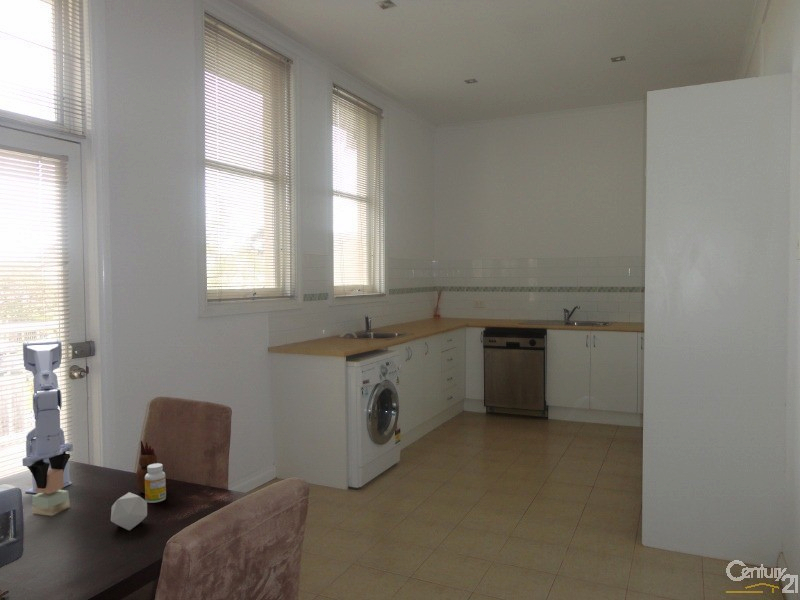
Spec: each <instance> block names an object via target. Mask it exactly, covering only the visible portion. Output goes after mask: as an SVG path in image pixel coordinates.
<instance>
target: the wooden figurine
mask: <svg viewBox="0 0 800 600" xmlns="http://www.w3.org/2000/svg"><path fill="white" fill-rule="evenodd" d="M138 459H139V460H138V461H139V462H138V463H139V467H138V469H137V470H136V473H135V476H136V477H135V483H136V486H137V490H138V491H139V492H141V493H142V494H145V475H146V474H147V473H148V472H147V466H148V465H151V464H156V463H158V457H157V454H156V453H155V449H154V447H151V445H149V444H148V442H147V441H146V442H145V446H144V443H143V440H140V456H139V458H138Z"/></svg>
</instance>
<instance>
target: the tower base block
mask: <svg viewBox="0 0 800 600" xmlns="http://www.w3.org/2000/svg"><path fill="white" fill-rule="evenodd" d="M70 505H71V504H70V499H69V500H68V501H65V502H63V503H60V504H58V505H55V506H53V507H50V508H45V507H40V506H35V505H32V514H33V515H43V516H49V517H50V516H54V515H56V514H59V513H60V512H62V511H63V512H64V510H66V509H69V508H70V507H71V506H70Z"/></svg>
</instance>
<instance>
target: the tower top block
mask: <svg viewBox="0 0 800 600" xmlns="http://www.w3.org/2000/svg"><path fill="white" fill-rule="evenodd" d="M69 496H70V495H69V490H66V489H65V490H64V489H60V490H57V491H55V492H53V493H50V494H48V493H35V494H33V495H31V505H32V506H33V505H35V506H40V507H45V508H50V507H53V506H55V505H58V504H60V503H63V502H65V501H68V500H70V497H69Z"/></svg>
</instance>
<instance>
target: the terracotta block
mask: <svg viewBox="0 0 800 600" xmlns="http://www.w3.org/2000/svg"><path fill="white" fill-rule="evenodd" d="M63 489H64V487H63V470H62V469H50V468H49V469H48V472H47V484H46V488H44V489H42V488H38V487H37V484H36V492H38V493H48V494H50V493H53V492H55V491H57V490H63ZM38 493H37V494H38Z"/></svg>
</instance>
